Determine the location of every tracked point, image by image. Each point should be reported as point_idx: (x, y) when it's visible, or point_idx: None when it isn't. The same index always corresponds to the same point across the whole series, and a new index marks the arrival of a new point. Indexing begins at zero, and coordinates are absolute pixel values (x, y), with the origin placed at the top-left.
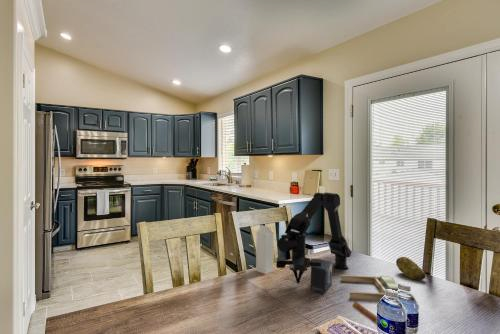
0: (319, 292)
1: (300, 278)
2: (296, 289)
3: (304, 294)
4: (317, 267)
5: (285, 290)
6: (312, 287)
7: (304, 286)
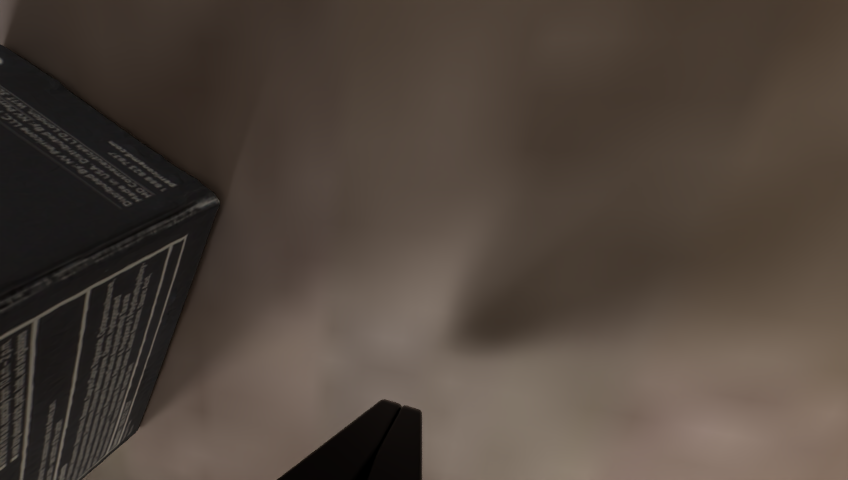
0: (67, 91)
1: (295, 471)
2: (475, 263)
3: (337, 20)
4: None
5: (768, 248)
6: (131, 192)
7: (313, 345)
